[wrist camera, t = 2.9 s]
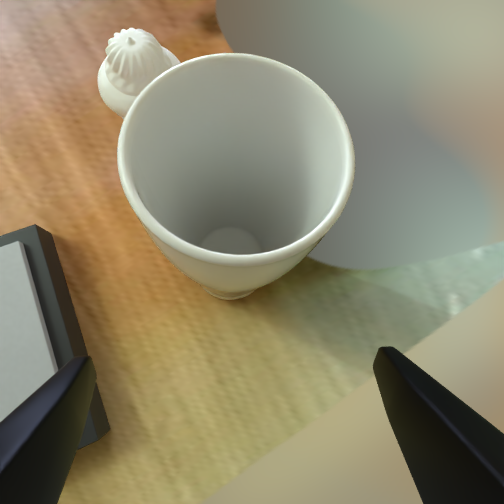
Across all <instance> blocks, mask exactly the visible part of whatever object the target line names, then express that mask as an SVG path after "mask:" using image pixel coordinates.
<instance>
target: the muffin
mask: <svg viewBox="0 0 504 504" xmlns="http://www.w3.org/2000/svg"><path fill="white" fill-rule="evenodd" d="M108 44H109V46H108V47H107V48H106V50H105V51H106V54H107V55H108V56H107V57H106V59H105V60H104V61H103V63H102V65H101V67H100V69H99V72H98V88H99V92H100V95H101V97H102V99H103V101H104V102H105V104H106V105H107V106H108V107H109V108H110V109H111V110H112V111H114V112H115V113H117V115H119V116H121V117H122V118H123V119H125V116H126V114H127V112H128V110H129V108H130V107H131V105H132V104H133V102H134V100H135V99H136V98H137V97H138V95H139V94H140V93H141V92H142V90H143V89H144V88H145V87H146V86H147V85H148V84H149V83H151V82H152V81H153V80H154V79H155V78H157V77H158V76H159V75H161V74H162V73H164V72H165V71H167V70H169V69H170V68H172V67H174V66H176V65H178V64H180V61H179V60H178V59H177V57H176V56H175V55H174V54H172V53H171V52H170V51H169V50H167V49H166V48H164V47H162V46H161V45H160V44H159V42H158V41H157V40H156V38H155V37H154V36H153V35H152V34H150V33H148V32H145V31H144V30H142V29H136V30H135V29H134V28H129V29H128V30H124V29H122V30H121V33H114V38H111V39H109V41H108Z"/></svg>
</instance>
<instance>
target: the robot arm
mask: <svg viewBox="0 0 504 504" xmlns="http://www.w3.org/2000/svg"><path fill="white" fill-rule="evenodd" d="M373 370H374V374H375V377H376V380H377V384H378V387H379V390H380V394H381V397H382V400H383V404H384V407H385V410H386V413H387V416H388V419H389V422H390V424H391V427H392V429H393V431H394V434H395V436H396V439H397V441H398V444H399V446H400V448H401V451H402V453H403V455H404V458H405V460H406V463H407V465H408V468H409V470H410V473H411V475H412V477H413V480H414V482H415V485H416V487H417V489H418V492H419V494H420V497H421V499H422V502H423V504H504V434H503V433H502V432H500V430H498V429H497V428H496V427H494V426H493V425H492V424H491V423H489V422H488V421H487V420H486V419H484V418H483V417H482V416H481V415H479V414H478V413H477V412H475V411H474V410H473V409H472V408H470V407H469V406H468V405H466V404H465V403H464V402H463V401H461V400H460V399H459V398H458V397H456V396H455V395H454V394H452V393H451V392H450V391H449V390H447V389H446V388H445V387H444V386H442V385H441V384H440V383H439V382H437V381H436V380H435V379H433V378H432V377H431V376H430V375H428V374H427V373H426V372H425V371H423V370H422V369H421V368H420V367H418V366H417V365H416V364H414V363H413V362H412V361H411V360H409V359H408V358H407V357H406V356H404V355H403V354H402V353H401V352H399V351H398V350H397V349H395V348H394V347H390V346H389V347H380V348H379V349H378V352H377V355H376V358H375V360H374V363H373ZM95 383H96V371H95V367H94V364H93V361H92V358H91V357H90V356H88V355H83V356H75V357H73V358H72V359H71V360H70V361H69V362H67V363H66V364H65V365H64V366H63V367H62V368H61V369H60V370H58V371H57V372H56V373H55V374H54V375H53V376H52V377H51V378H49V379H48V380H47V381H46V382H45V383H44V384H43V385H41V386H40V387H39V388H38V389H37V390H36V391H35V392H34V393H32V394H31V395H30V396H29V397H28V398H27V399H26V400H25V401H23V402H22V403H21V404H20V405H19V406H18V407H17V408H15V409H14V410H13V411H12V412H11V413H10V414H9V415H8V416H6V417H5V418H4V419H3V420H2V421H1V422H0V504H57V503H58V500H59V497H60V494H61V492H62V489H63V486H64V484H65V481H66V478H67V475H68V473H69V470H70V467H71V464H72V462H73V459H74V456H75V454H76V451H77V448H78V445H79V443H80V440H81V437H82V434H83V430H84V427H85V423H86V419H87V415H88V411H89V407H90V403H91V399H92V395H93V391H94V387H95Z"/></svg>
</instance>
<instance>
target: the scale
mask: <svg viewBox="0 0 504 504" xmlns="http://www.w3.org/2000/svg"><path fill="white" fill-rule="evenodd" d="M83 355H88V354H87V350H86V347H85V344H84V340H83V337H82V334H81V330H80V327H79V324H78V320H77V317H76V314H75V311H74V307H73V304H72V301H71V297H70V294H69V291H68V287H67V284H66V281H65V277H64V274H63V271H62V267H61V264H60V261H59V258H58V254H57V251H56V248H55V244H54V241H53V238H52V234H51V233H49V232H48V231H46V230H44V229H43V228H41V227H39V226H37V225H36V224H35V225H32V226H29V227H26V228H23V229H20V230H17V231H14V232H11V233H8V234H5V235H2V236H0V422H1V421H2V420H3V419H4V418H5V417H6V416H8V415H9V414H10V413H11V412H12V411H13V410H14V409H15V408H17V407H18V406H19V405H20V404H21V403H22V402H23V401H25V400H26V399H27V398H28V397H29V396H30V395H31V394H32V393H34V392H35V391H36V390H37V389H38V388H39V387H40V386H41V385H43V384H44V383H45V382H46V381H47V380H48V379H49V378H51V377H52V376H53V375H54V374H55V373H56V372H57V371H58V370H60V369H61V368H62V367H63V366H64V365H65V364H66V363H67V362H69V361H70V360H71V359H72V358H73V357H75V356H83ZM109 430H110V426H109V423H108V420H107V416H106V413H105V410H104V407H103V403H102V400H101V397H100V393H99V390H98V387H97V383H95V387H94V391H93V395H92V399H91V403H90V407H89V411H88V415H87V419H86V423H85V427H84V430H83V434H82V437H81V440H80V443H79V445H78V448H77V450H78V449H80V448H83V447H85V446H87V445H89V444H91V443H93V442H95V441H97V440H99V439H100V438H101V437H102V436H104V435H105V434H106V433H107V432H108V431H109Z"/></svg>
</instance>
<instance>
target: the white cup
mask: <svg viewBox="0 0 504 504" xmlns="http://www.w3.org/2000/svg"><path fill="white" fill-rule="evenodd" d="M117 163H118V171H119V176H120V180H121V184H122V187H123V190H124V193H125V195H126V197H127V199H128V201H129V203H130V205H131V207H132V208H133V210H134V212H135V213H136V215H137V217H138V219H139V220H140V222H141V224H142V225H143V227H144V229H145V230H146V232H147V233H148V235H149V237H150V238H151V239H152V241H153V242H154V244H155V245H156V246H157V248H158V249H159V250H160V251H161V253H162V254H163V255H164V256H165V257H166V258H167V259H168V260H169V261H170V262H171V263H172V264H173V265H174V267H176V268H177V269H178V270H179V271H180V272H182V273H183V274H184V275H185V276H187V277H188V278H190V279H191V280H193V281H194V282H196V283H197V284H199V285H200V286H201V287H202V288H203V289H204V290H205V291H206V292H208V293H209V294H211V295H212V296H215V297H217V298H220V299H225V300H235V299H240V298H243V297H245V296H248V295H249V294H251V293H252V292H254V291H255V290H256V289H258V288H261V287H263V286H265V285H267V284H269V283H271V282H273V281H275V280H277V279H278V278H280V277H282V276H283V275H285V274H286V273H287V272H289V271H290V270H291V269H293V268H294V267H295V266H296V265H297V264H298V263H300V262H301V261H302V260H303V259H304V258H305V257H306V256H307V255H308V254H309V253H310V252H311V251H312V250H313V248H314V247H315V246H316V245H317V244H318V243H319V242H320V241H321V239H322V238H323V237H324V235H325V234H326V233H327V232H328V230H329V229H330V228H331V227H332V226H333V224H334V223H335V222H336V221H337V219H338V218H339V216H340V215H341V213H342V211H343V210H344V208H345V206H346V203H347V201H348V199H349V196H350V193H351V190H352V186H353V181H354V174H355V154H354V147H353V143H352V138H351V135H350V132H349V129H348V126H347V124H346V122H345V120H344V118H343V116H342V114H341V112H340V111H339V109H338V108H337V106H336V105H335V103H334V102H333V101H332V100H331V98H330V97H329V96H328V95H327V94H326V93H325V92H324V91H323V90H322V89H321V88H320V87H319V86H318V85H317V84H316V83H315V82H313V81H312V80H311V79H309V78H308V77H307V76H305V75H304V74H302V73H300V72H298V71H297V70H295V69H293V68H292V67H289V66H287V65H285V64H283V63H280V62H278V61H275V60H272V59H269V58H265V57H261V56H256V55H250V54H241V53H221V54H212V55H206V56H202V57H198V58H194V59H191V60H188V61H185V62H183V63H180V64H178V65H176V66H174V67H172V68H170V69H169V70H167V71H165V72H164V73H162V74H161V75H159V76H158V77H157V78H155V79H154V80H153V81H152V82H151V83H149V84H148V85H147V86H146V87H145V88H144V89H143V90H142V92H141V93H140V94H139V95H138V97H137V98H136V99H135V100H134V102H133V104H132V105H131V107H130V108H129V110H128V112H127V114H126V116H125V119H124V121H123V124H122V127H121V130H120V135H119V139H118V148H117Z"/></svg>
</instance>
